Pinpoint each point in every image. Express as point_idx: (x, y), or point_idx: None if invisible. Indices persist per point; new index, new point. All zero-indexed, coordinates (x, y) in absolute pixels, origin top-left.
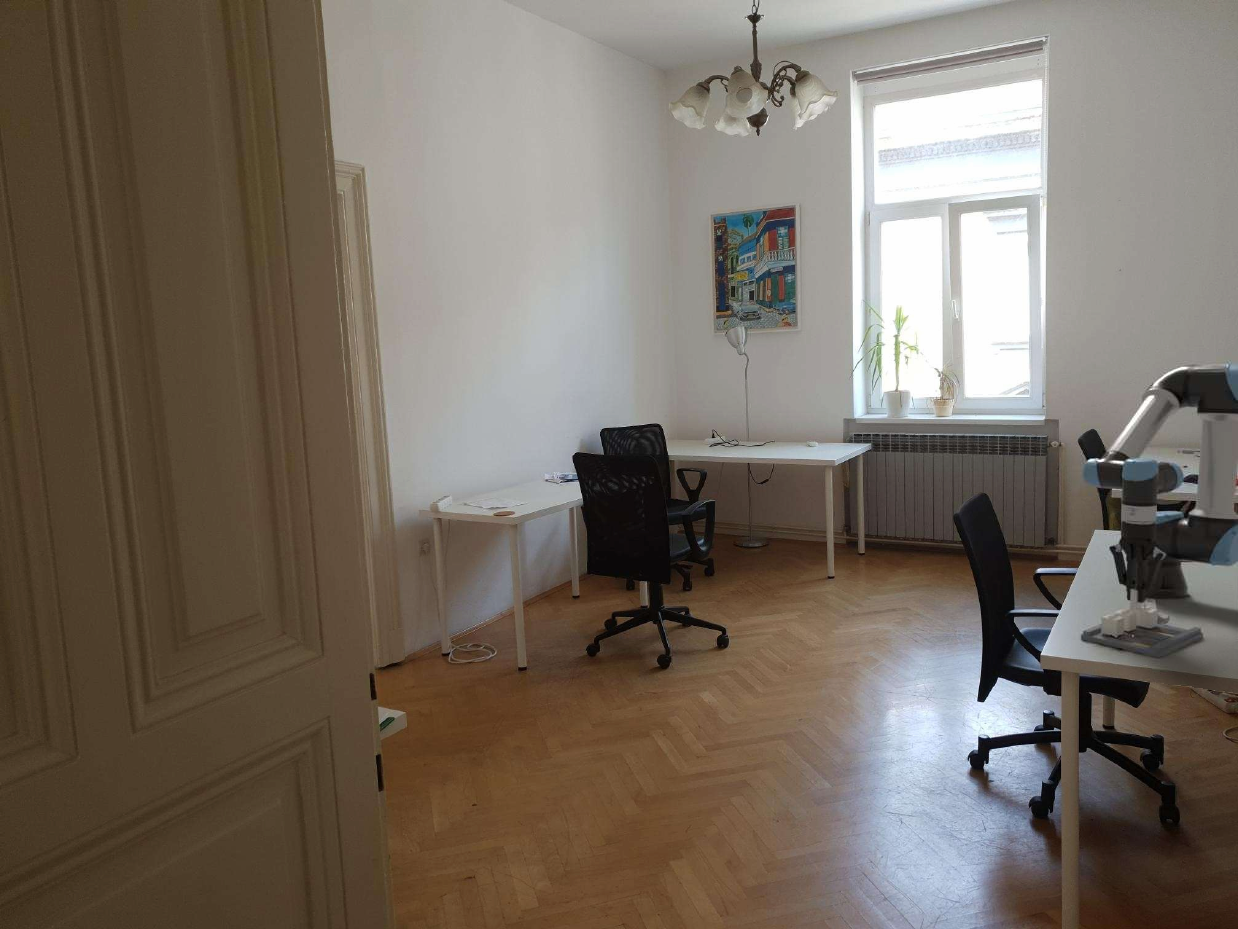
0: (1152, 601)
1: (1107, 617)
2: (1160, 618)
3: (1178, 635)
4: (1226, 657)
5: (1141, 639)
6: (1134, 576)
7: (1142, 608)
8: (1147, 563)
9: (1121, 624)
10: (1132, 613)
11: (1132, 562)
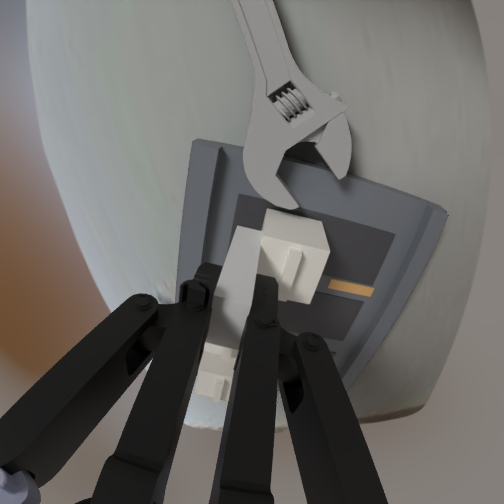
0: None
1: (208, 392)
2: (324, 159)
3: (384, 319)
4: (455, 329)
5: None
6: (193, 374)
7: (268, 261)
8: (269, 483)
9: None
10: None
11: (165, 485)
